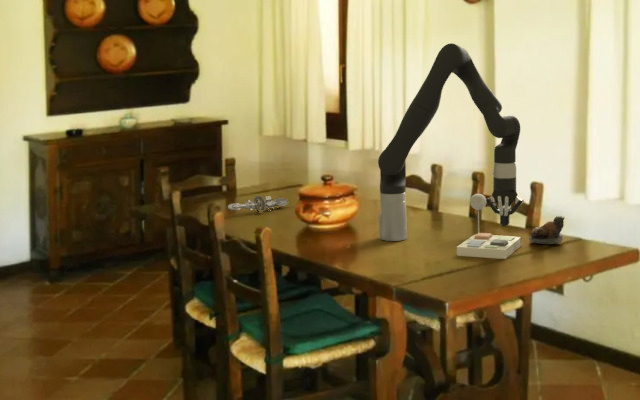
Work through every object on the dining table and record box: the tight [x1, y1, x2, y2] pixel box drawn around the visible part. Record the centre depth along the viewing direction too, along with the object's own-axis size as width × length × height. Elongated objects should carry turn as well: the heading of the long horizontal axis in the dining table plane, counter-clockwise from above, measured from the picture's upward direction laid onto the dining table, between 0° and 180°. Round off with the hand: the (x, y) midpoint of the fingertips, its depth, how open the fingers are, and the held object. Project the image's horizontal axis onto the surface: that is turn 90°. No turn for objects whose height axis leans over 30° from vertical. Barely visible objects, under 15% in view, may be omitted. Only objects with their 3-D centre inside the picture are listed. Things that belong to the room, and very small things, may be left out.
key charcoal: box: [490, 239, 508, 246], centre depth 299 cm, size 5×5×2 cm
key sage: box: [499, 237, 514, 241], centre depth 306 cm, size 5×5×2 cm
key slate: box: [467, 240, 485, 245], centre depth 303 cm, size 5×5×2 cm
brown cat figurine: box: [529, 215, 565, 245], centre depth 308 cm, size 12×7×10 cm, turn 56°
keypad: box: [456, 233, 522, 260], centre depth 303 cm, size 16×20×3 cm
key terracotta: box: [474, 232, 493, 240], centre depth 310 cm, size 5×5×2 cm
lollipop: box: [469, 193, 487, 234], centre depth 327 cm, size 6×6×15 cm
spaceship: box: [227, 195, 290, 212], centre depth 387 cm, size 8×35×8 cm
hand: (504, 226), depth 305 cm, fingers closed
